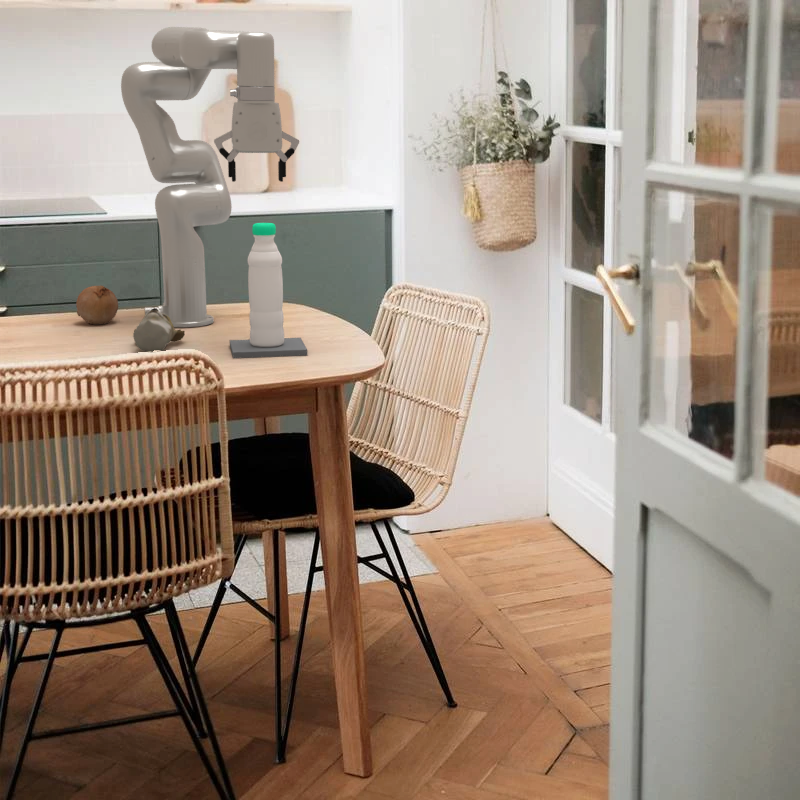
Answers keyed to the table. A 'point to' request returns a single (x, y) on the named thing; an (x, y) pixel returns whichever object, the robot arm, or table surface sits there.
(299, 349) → the slate mat
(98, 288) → the onion
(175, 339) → the ceramic sculpture
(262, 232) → the water bottle
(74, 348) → the table surface
